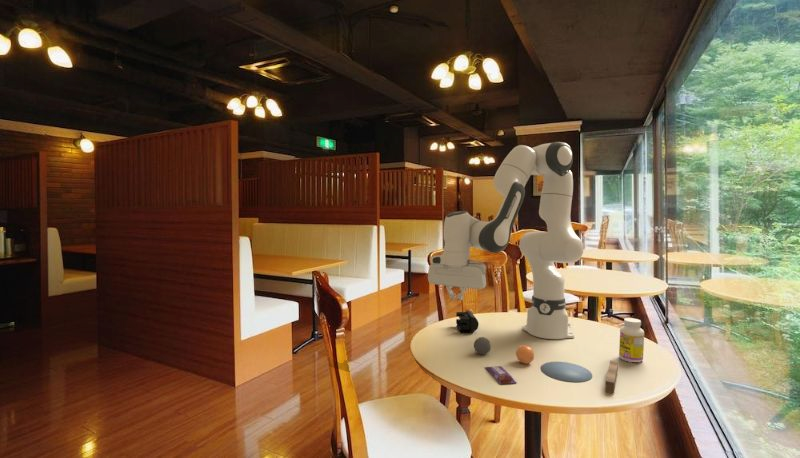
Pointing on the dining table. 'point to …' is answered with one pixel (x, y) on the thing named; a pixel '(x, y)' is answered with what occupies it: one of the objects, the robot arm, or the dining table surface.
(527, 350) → the object ball
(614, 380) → the wall
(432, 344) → the dining table surface
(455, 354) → the dining table surface
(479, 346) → the dark gray ball
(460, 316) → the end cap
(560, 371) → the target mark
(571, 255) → the robot arm
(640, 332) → the supplement bottle
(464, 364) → the dining table surface
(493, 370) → the snack package
